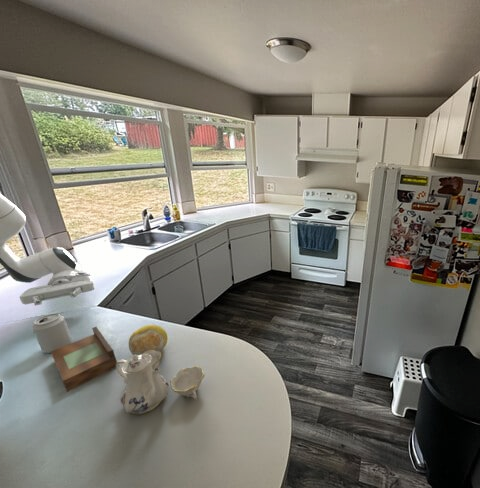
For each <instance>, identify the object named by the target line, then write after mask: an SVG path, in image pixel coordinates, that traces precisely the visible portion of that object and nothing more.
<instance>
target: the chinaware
mask: <svg viewBox="0 0 480 488" xmlns="http://www.w3.org/2000/svg"><path fill="white" fill-rule="evenodd" d="M162 353H163V352H162V351H161V350H160V351H155V350H147V351H145V352H144V353H142V355H141V354H140V355H133V356H132V357H130V358H129V359H127V360H125V359H119V360H118V361H117V363H116V367H115V370H116V371H117V373H118V374H119V375H120V376H121V377H123V378H125V379H124V380H123V382H124V384H126V388H125V390H124V392H123V394H122V396H121V398H120V403H121V405H122V406H123V408H124V411H125V412H126V413H131V414H132V415H137V416H138V415H143V414H147V413H150V412H152V411H153V410H155V409H156V408H157V407H158V406H159V405H160V404H161V403H162V402H163V401H164V399H165V398H166V397H167V396H168V395H169V390H168V388H169V384H170V387H171V389H172V391H173V392H174V393H177V395H179V396H183V397H186V398H193V400H197V398H198V397H197V391H198V390H199V388H200V386H201V385H202V381H203V379H204V377H205V372H204V371H203V370H202V367H200V366H196V365H195V366H192V367H184V368H182V369H180V370H179V371H178V372H177V373H176V375H175V376H174V377H172V378H171V380H170V381H169V383H168V382H167V380H165V378H164V376H163V375H162V374H159V369H160V368H159V365H160V361H161V358H162ZM120 364H122V367H121V366H120Z"/></svg>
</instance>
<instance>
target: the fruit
mask: <svg viewBox="0 0 480 488" xmlns="http://www.w3.org/2000/svg"><path fill="white" fill-rule="evenodd" d="M167 343H168V334H167V330H165V328H163V327H162V326H161V325H158V324H148V325H144V326H142V327H139V328H138V329H136V330H135V331H134V332H133V333H132V334H131V335H130V337H129V339H128V349H129V351H130V353H131V354H132V355H133V356H134V355H140V354H141V355H142V353H144V352H145V351H147V350H155V351H160V352H161V351H162V350H163V349H164V348H165V347H166V346H167Z"/></svg>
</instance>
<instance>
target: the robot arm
mask: <svg viewBox="0 0 480 488" xmlns="http://www.w3.org/2000/svg"><path fill="white" fill-rule="evenodd" d="M26 223H27V218H26V215H25V214H24V212H23V211H22V210H21V209H20V208H18V207H17V205H15V204H14V203H13V202H12V201H10V199H8V198H6V196H5V195H3V194H2V193H0V265H1V266H2V267H3V268H4V269H5V271H6V272H7V273H8V275H9V276H10V277H11V278H12V279H13V280H14V281H16V282H20V283H26V284H31V283H33V282H35V281H38V280H39V279H42V278H44V277H46V276H49V275H52V276H51V277H50V279H49V280H48V282H47V284H44V285H40V286H39V285H38V286H34V287H30V288H28V289H26V290H24V292H22V293H21V294H20V295H19V300H20V302H21V304H22V305H30V304H34V306H35V307H36V306H39V305H42V304H43V302H44V301H51V300H55V299H60V298H63V297H69V296H70V299H73V298H77V297H78V295H80V294H84V293H88V292H89V293H90V292H92V291H94V290H95V289H96V287H95V283H94V280H93V277H92V276H91V274H90V273H89V272H83V268H82V266H81V265H80V264H79V262H78V260H77V258H76V257H75V256H74V254H73V253H72V252H71V251H70V250H68V249H66V248H63V247H59V246H52V247H50V248H47V249H43V250H41V251H39V252H36V253H33V254H31V255H27V256H25V257H19V256H17V255H16V254H15V253H14V252H13V251H12V249H10V247H9V246H8V245H7V242H9V241H10V240H11V239H13V238H14V237H15V236H17V235H18V234H20V232H22V231H23V229H24V227H25V226H26Z"/></svg>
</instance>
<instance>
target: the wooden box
mask: <svg viewBox="0 0 480 488" xmlns="http://www.w3.org/2000/svg"><path fill="white" fill-rule="evenodd" d="M92 332H93V334H91V335H88V336H86V337H83V338H81V339H78V340H76V341H74V342H73V341H72V342H71V343H70V344H68V345H66V346H64V347H61V348H59V349H56V350H54V351H51V356H52V359H53V361H54V364H55V366H56V368H57V371H58V374H59V375H60V378H61V381H62V383H63V386H64V387H65V390H66V392H70V391H71V390H73V389H75V388H77V387H79V386H81V385H83V384H85V383H87V382H89V381H92V380H93V379H95V378H97V377H99V376H101V375H103V374H105V373H107V372H109V371H111V370H112V369H116V363H117V362H118V361H117V358H116V355H115V351H114V349H113V348H112V346H111V345H110V344H109V342H108V340H107V339H106V338H105V336H104V335H103V333H102V332H101V330H100V329H99V327H98V326H94V327H92Z"/></svg>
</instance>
